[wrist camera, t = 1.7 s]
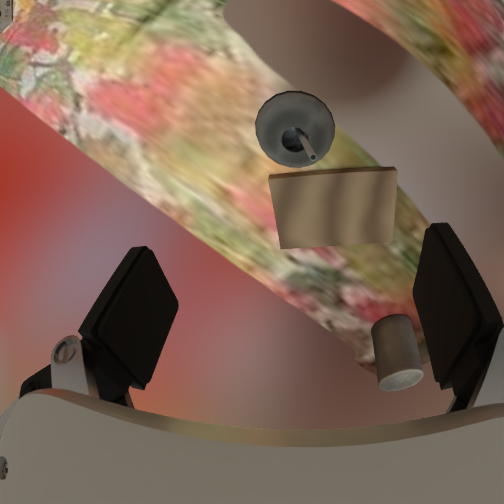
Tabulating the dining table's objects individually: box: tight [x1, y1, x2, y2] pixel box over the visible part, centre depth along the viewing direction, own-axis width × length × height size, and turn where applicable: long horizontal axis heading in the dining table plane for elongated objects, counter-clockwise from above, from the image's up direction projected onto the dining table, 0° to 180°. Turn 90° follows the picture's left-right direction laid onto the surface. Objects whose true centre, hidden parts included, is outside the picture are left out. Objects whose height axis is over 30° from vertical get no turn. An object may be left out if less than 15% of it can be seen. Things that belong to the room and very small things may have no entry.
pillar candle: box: [371, 315, 423, 391], centre depth 50 cm, size 10×10×15 cm
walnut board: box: [268, 167, 397, 249], centre depth 40 cm, size 18×12×2 cm, turn 102°
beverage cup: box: [255, 91, 335, 168], centre depth 25 cm, size 7×7×20 cm
